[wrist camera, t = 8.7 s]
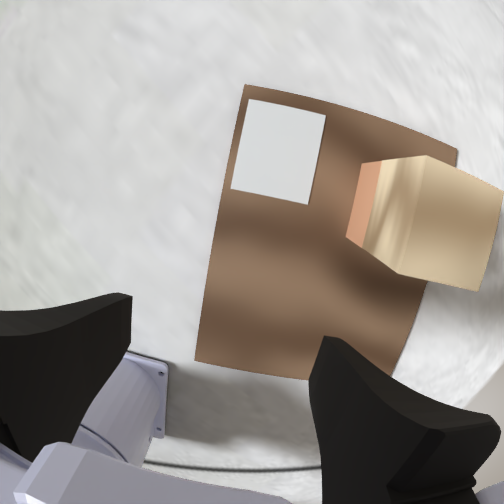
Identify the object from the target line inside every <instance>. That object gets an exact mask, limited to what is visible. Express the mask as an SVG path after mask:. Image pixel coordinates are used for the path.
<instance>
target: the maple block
mask: <svg viewBox="0 0 504 504" xmlns="http://www.w3.org/2000/svg"><path fill="white" fill-rule="evenodd" d="M503 194H504V191H502V190H500V189H498V188H496V187H494V186H492V185H490V184H488V183H486V182H484V181H482V180H480V179H478V178H476V177H474V176H472V175H470V174H468V173H466V172H464V171H462V170H459V169H457V168H455V167H453V166H451V165H448V164H446V163H444V162H441V161H439V160H437V159H434V158H432V157H430V156H427V155H424V156H415V157H406V158H398V159H390V160H382V163H381V168H380V173H379V178H378V183H377V187H376V192H375V196H374V201H373V205H372V209H371V214H370V218H369V222H368V226H367V230H366V234H365V237H364V241H363V245H362V248H363V249H364V250H366V251H367V252H369V253H370V254H372V255H373V256H374V257H376V258H377V259H378V260H380V261H381V262H383V263H384V264H385V265H387V266H388V267H389V268H391V269H392V270H394V271H395V272H396V273H398V274H401V275H405V276H410V277H414V278H419V279H423V280H428V281H432V282H437V283H441V284H446V285H450V286H454V287H459V288H463V289H467V290H472V291H476V292H478V291H479V288H480V285H481V282H482V279H483V276H484V273H485V270H486V266H487V263H488V260H489V256H490V252H491V249H492V245H493V241H494V237H495V233H496V229H497V224H498V220H499V215H500V210H501V205H502V199H503Z"/></svg>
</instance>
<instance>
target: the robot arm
mask: <svg viewBox="0 0 504 504" xmlns="http://www.w3.org/2000/svg"><path fill="white" fill-rule="evenodd" d="M132 297H133V296H130V295H126V294H122V293H111V294H106V295H102V296H98V297H95V298H91V299H87V300H84V301H80V302H76V303H71V304H67V305H62V306H58V307H53V308H46V309H38V310H26V311H0V504H292V503H290V502H289V501H287V500H286V499H284V498H282V497H279V496H274V495H269V494H264V493H260V492H256V491H251V490H245V489H237V488H230V487H224V486H218V485H212V484H207V483H202V482H197V481H192V480H187V479H183V478H179V477H175V476H171V475H167V474H163V473H159V472H156V471H152V470H149V469H145V468H142V464H143V461H144V459H145V456H146V454H147V451H148V449H149V446H150V443H151V441H152V438H153V437H156V438H160V439H162V438H164V435H165V415H166V397H167V382H168V369H169V368H168V365H167V364H166V363H164V362H161V361H157V360H153V359H149V358H146V357H142V356H139V355H135V354H132V353H129V352H126V351H127V349H128V347H129V345H130V343H131V317H132ZM160 372H163V373H164V374H161V373H160ZM309 398H310V405H311V410H312V414H313V419H314V424H315V428H316V433H317V438H318V443H319V448H320V455H321V469H322V504H504V481H502V482H499V483H497V484H494V485H492V486H489V487H487V488H484V489H482V490H480V491H479V492H478V493H476V494H474V491H473V490H472V487H474V486H475V485H476V480H475V478H474V476H473V475H474V474H475V472H476V471H477V470H478V469H479V468H480V467H481V466H482V464H483V463H484V462H485V461H486V460H487V458H488V457H489V456H490V455H491V453H492V452H493V451H494V449H495V448H496V446H497V444H498V442H499V439H500V435H501V430H500V427H499V426H498V424H497V423H496V422H495V420H494V419H493V418H492V417H491V416H490V415H488V414H482V413H477V412H472V411H468V410H463V409H459V408H456V407H453V406H450V405H447V404H444V403H441V402H438V401H436V400H433V399H431V398H429V397H427V396H424V395H422V394H420V393H418V392H416V391H414V390H412V389H410V388H408V387H407V386H405V385H403V384H402V383H400V382H398V381H397V380H395V379H393V378H392V377H390V376H389V375H388V374H386V373H385V372H383V371H382V370H381V369H379V368H378V367H377V366H375V365H374V364H373V363H371V362H370V361H369V360H368V359H366V358H365V357H364V356H363V355H361V354H360V353H359V352H358V351H357V350H355V349H354V348H353V347H352V346H350V345H349V344H348V343H347V342H345V341H344V340H342V339H341V338H338V337H331V336H324V337H323V340H322V342H321V345H320V348H319V351H318V354H317V357H316V360H315V363H314V365H313V368H312V371H311V374H310V376H309ZM158 427H159V428H158Z"/></svg>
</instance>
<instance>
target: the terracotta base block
mask: <svg viewBox="0 0 504 504" xmlns="http://www.w3.org/2000/svg"><path fill="white" fill-rule="evenodd" d="M381 163H382V161H377V162H369V163H362V165H361V170H360V175H359V180H358V185H357V190H356V194H355V199H354V203H353V208H352V212H351V216H350V221H349V225H348V229H347V233H346V237H347V238H348V239H349V240H351V241H352V242H354V243H355V244H357V245H358V246H359V247H361V248H362V245H363V241H364V237H365V234H366V230H367V226H368V222H369V218H370V214H371V209H372V205H373V201H374V196H375V192H376V187H377V183H378V178H379V173H380V168H381Z"/></svg>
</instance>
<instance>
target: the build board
mask: <svg viewBox="0 0 504 504" xmlns="http://www.w3.org/2000/svg"><path fill="white" fill-rule="evenodd" d="M456 154H457V149H456V148H454V147H452V146H450V145H447V144H445V143H443V142H441V141H438V140H436V139H434V138H431V137H429V136H427V135H424V134H422V133H419V132H417V131H414V130H412V129H409V128H407V127H404V126H401V125H399V124H396V123H393V122H390V121H387V120H385V119H382V118H379V117H376V116H373V115H370V114H367V113H364V112H360V111H357V110H354V109H351V108H347V107H344V106H340V105H337V104H333V103H330V102H326V101H322V100H318V99H314V98H310V97H306V96H302V95H297V94H293V93H288V92H284V91H279V90H274V89H269V88H263V87H258V86H252V85H246V84H245V85H244V89H243V94H242V98H241V103H240V107H239V112H238V116H237V121H236V125H235V130H234V135H233V139H232V144H231V149H230V154H229V159H228V164H227V169H226V174H225V179H224V184H223V189H222V194H221V200H220V205H219V210H218V216H217V221H216V227H215V232H214V238H213V244H212V249H211V255H210V261H209V267H208V273H207V279H206V285H205V291H204V298H203V304H202V311H201V317H200V324H199V331H198V338H197V345H196V352H195V359H194V361H198V362H203V363H207V364H212V365H217V366H222V367H227V368H232V369H237V370H243V371H248V372H254V373H260V374H266V375H273V376H279V377H286V378H294V379H301V380H309V376H310V374H311V371H312V368H313V365H314V363H315V360H316V357H317V354H318V351H319V348H320V345H321V342H322V340H323V337H324V336H331V337H338V338H341V339H342V340H344V341H345V342H347V343H348V344H349V345H350V346H352V347H353V348H354V349H355V350H357V351H358V352H359V353H360V354H361V355H363V356H364V357H365V358H366V359H368V360H369V361H370V362H371V363H373V364H374V365H375V366H377V367H378V368H379V369H381V370H382V371H383V372H385V373H386V374H388V375H389V376H390V375H391V373H392V371H393V368H394V366H395V364H396V362H397V360H398V357H399V355H400V353H401V351H402V348H403V346H404V343H405V341H406V339H407V336H408V334H409V331H410V329H411V326H412V324H413V321H414V318H415V316H416V313H417V310H418V308H419V305H420V302H421V299H422V296H423V293H424V290H425V287H426V284H427V281H428V280H423V279H419V278H414V277H410V276H405V275H401V274H398V273H396V272H395V271H394V270H392V269H391V268H389V267H388V266H387V265H385V264H384V263H383V262H381V261H380V260H378V259H377V258H376V257H374V256H373V255H372V254H370V253H369V252H367V251H366V250H364V249H363V248H361V247H359V246H358V245H357V244H355V243H354V242H352V241H351V240H349V239H348V238H347V237H346V233H347V229H348V225H349V221H350V216H351V212H352V208H353V203H354V199H355V194H356V190H357V185H358V180H359V175H360V170H361V165H362V163H369V162H377V161H382V160H390V159H398V158H406V157H415V156H424V155H427V156H430V157H432V158H434V159H437V160H439V161H441V162H444V163H446V164H448V165H451V166H453V167H455V161H456Z"/></svg>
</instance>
